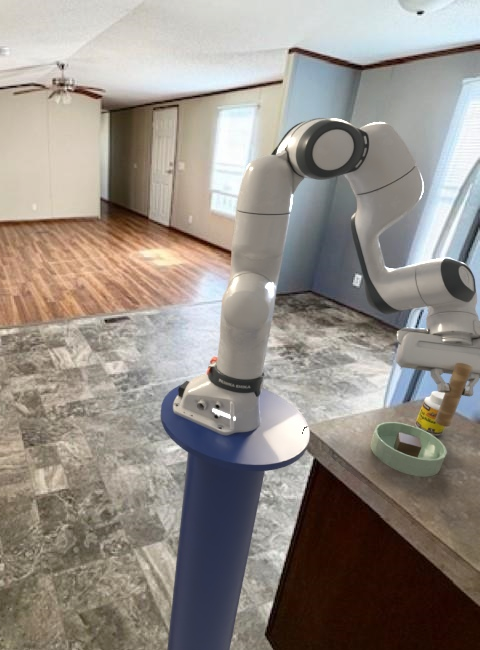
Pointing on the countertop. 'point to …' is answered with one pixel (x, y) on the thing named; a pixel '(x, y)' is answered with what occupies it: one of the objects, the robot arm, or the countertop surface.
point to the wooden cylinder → (453, 394)
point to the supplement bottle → (430, 414)
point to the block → (408, 444)
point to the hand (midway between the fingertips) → (455, 393)
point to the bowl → (421, 466)
